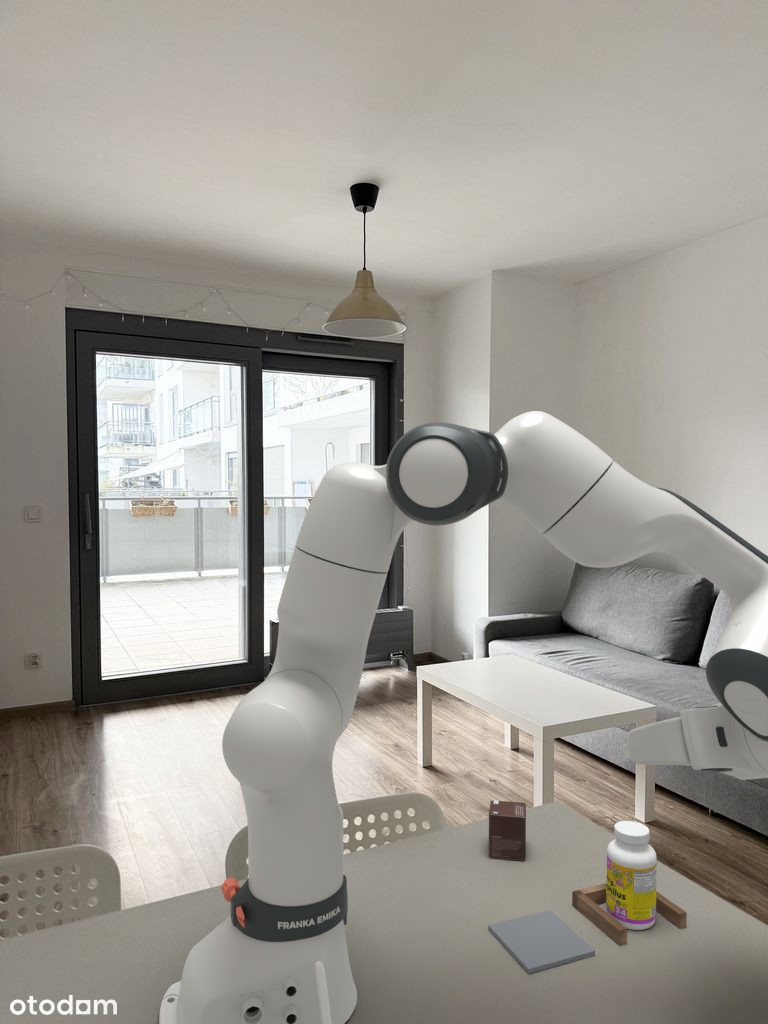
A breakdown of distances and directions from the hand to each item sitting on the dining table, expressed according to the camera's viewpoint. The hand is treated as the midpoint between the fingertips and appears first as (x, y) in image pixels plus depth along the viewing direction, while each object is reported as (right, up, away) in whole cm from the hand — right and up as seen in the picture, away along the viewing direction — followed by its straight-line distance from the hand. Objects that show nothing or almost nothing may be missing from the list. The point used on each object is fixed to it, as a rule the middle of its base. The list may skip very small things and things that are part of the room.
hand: (653, 751), depth 94 cm
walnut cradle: (0, -26, +8) cm, 27 cm away
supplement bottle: (0, -26, +8) cm, 27 cm away
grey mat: (-14, -26, +2) cm, 30 cm away
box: (-14, -26, +27) cm, 40 cm away
